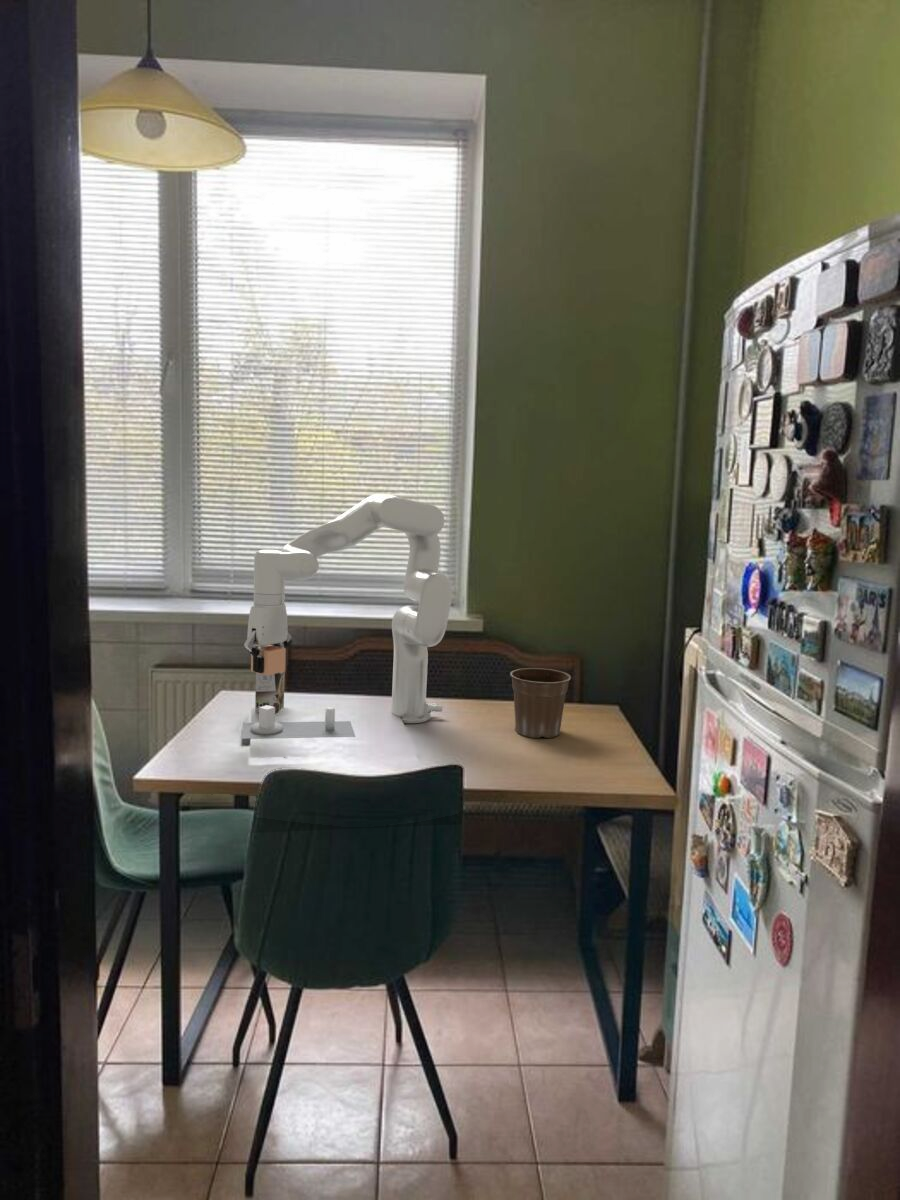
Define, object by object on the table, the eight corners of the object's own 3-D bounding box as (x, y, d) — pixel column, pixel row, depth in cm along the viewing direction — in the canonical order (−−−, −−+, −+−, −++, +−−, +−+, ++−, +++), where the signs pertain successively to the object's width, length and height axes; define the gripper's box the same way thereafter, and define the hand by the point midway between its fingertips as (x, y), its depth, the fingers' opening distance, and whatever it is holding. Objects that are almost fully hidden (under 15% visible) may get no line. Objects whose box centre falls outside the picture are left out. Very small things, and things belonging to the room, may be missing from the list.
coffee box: (277, 718, 237) (278, 660, 235) (254, 717, 238) (255, 659, 235) (284, 709, 246) (285, 653, 244) (262, 707, 247) (262, 652, 244)
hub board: (350, 726, 233) (351, 699, 232) (355, 742, 221) (356, 713, 220) (242, 728, 227) (243, 700, 226) (242, 744, 215) (242, 715, 214)
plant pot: (497, 734, 234) (500, 675, 231) (520, 719, 248) (524, 664, 245) (553, 745, 226) (558, 685, 224) (574, 730, 240) (579, 673, 238)
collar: (268, 667, 224) (268, 644, 223) (285, 671, 221) (285, 648, 220) (250, 671, 219) (251, 648, 218) (268, 675, 216) (268, 651, 215)
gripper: (282, 594, 226) (281, 661, 229) (232, 601, 212) (231, 673, 215) (304, 597, 222) (302, 666, 225) (254, 605, 208) (253, 678, 211)
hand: (268, 669), depth 220 cm, fingers closed on collar, 6 cm apart
